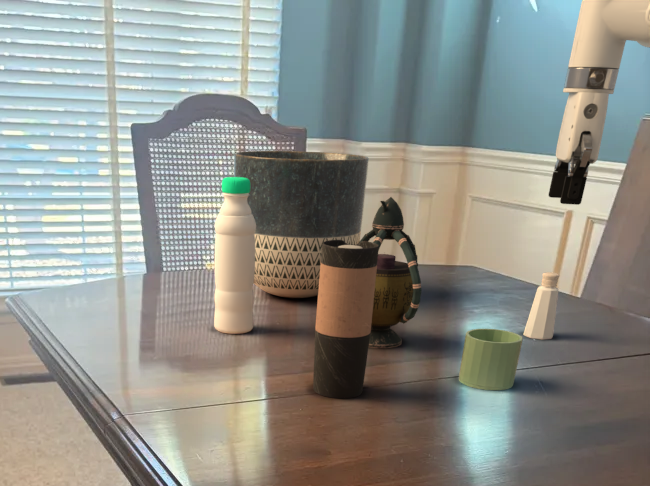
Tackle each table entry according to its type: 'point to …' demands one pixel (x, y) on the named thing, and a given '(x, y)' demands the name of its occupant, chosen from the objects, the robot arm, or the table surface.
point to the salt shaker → (543, 309)
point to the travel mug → (344, 317)
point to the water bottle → (234, 259)
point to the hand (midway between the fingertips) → (563, 200)
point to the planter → (300, 213)
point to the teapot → (392, 278)
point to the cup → (490, 359)
